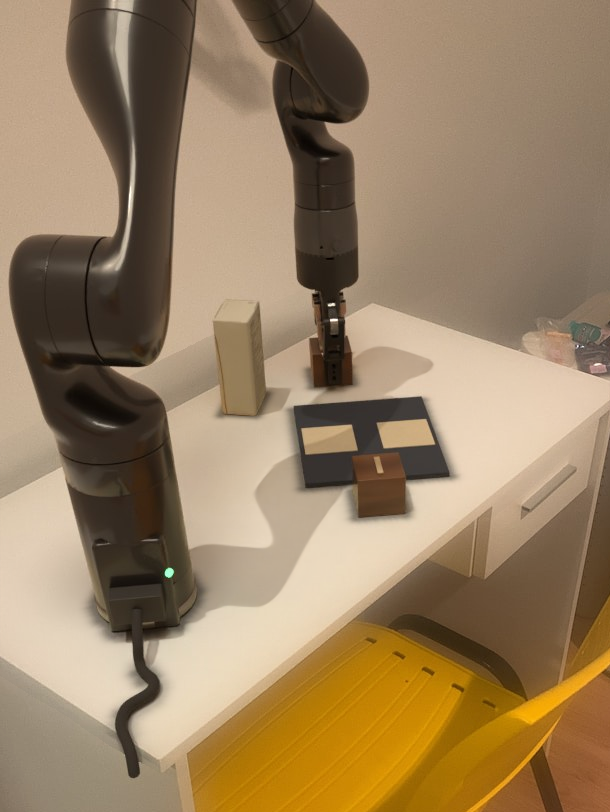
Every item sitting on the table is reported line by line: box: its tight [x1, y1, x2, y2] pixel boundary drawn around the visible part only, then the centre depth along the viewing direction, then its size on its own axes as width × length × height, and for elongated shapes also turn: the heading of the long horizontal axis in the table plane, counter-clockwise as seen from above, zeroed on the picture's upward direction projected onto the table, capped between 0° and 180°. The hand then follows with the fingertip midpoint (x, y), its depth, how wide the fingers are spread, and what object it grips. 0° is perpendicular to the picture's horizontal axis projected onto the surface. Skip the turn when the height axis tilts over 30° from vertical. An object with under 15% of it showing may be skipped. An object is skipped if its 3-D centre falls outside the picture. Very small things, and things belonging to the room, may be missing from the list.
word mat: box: [293, 396, 450, 489], centre depth 112 cm, size 18×16×1 cm
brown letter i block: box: [352, 452, 407, 518], centre depth 101 cm, size 5×5×5 cm
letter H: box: [308, 334, 354, 388], centre depth 123 cm, size 5×5×5 cm
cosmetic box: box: [212, 298, 267, 417], centre depth 116 cm, size 6×4×12 cm
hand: (331, 374), depth 125 cm, fingers closed on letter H, 5 cm apart
